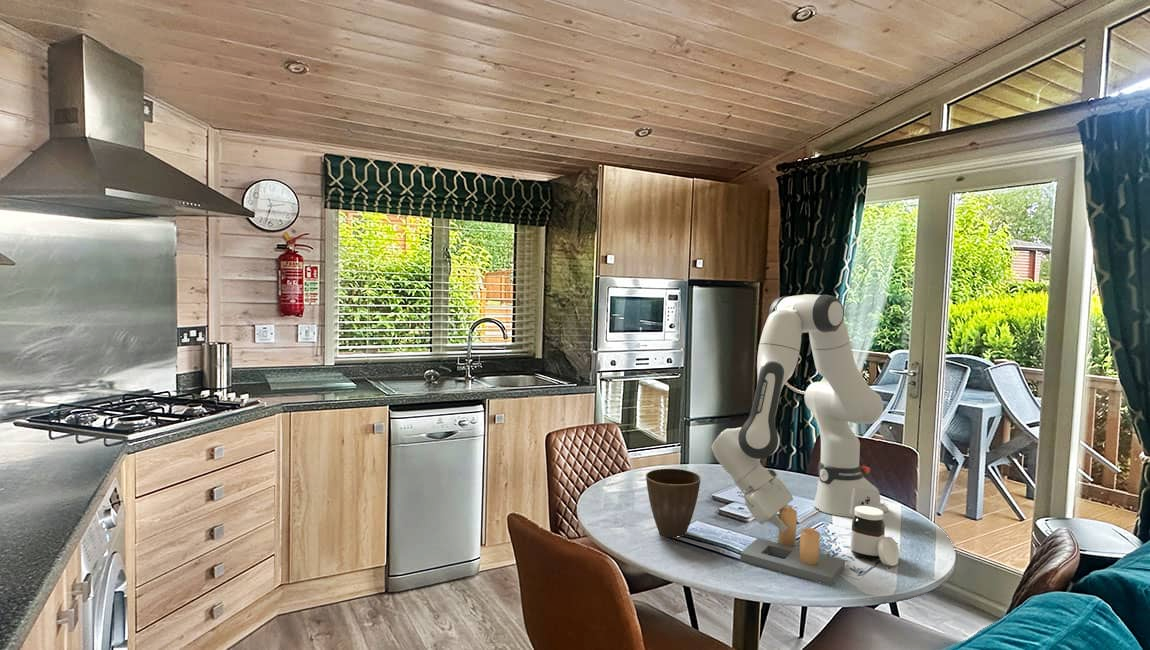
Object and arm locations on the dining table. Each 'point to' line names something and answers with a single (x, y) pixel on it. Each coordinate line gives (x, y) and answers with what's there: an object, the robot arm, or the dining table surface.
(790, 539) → the orange peg
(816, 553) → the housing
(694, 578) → the dining table surface
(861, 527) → the spread jar
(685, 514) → the plant pot
